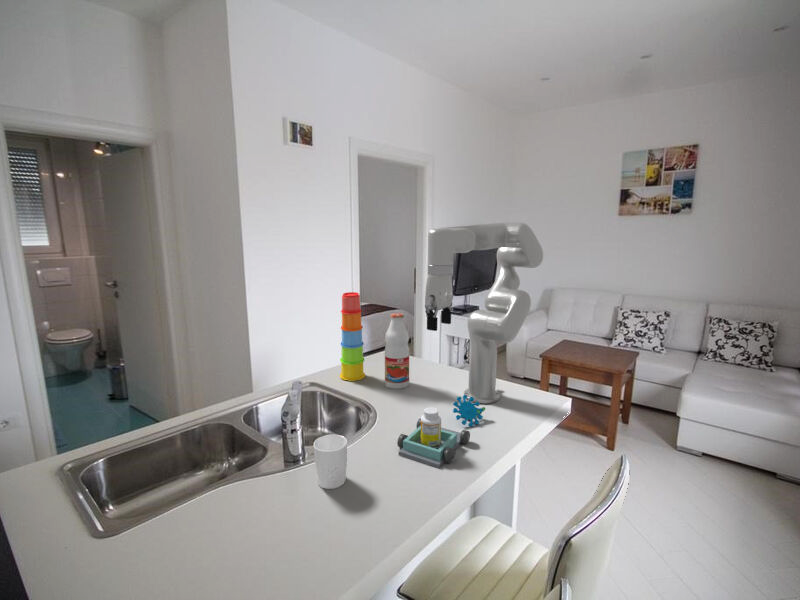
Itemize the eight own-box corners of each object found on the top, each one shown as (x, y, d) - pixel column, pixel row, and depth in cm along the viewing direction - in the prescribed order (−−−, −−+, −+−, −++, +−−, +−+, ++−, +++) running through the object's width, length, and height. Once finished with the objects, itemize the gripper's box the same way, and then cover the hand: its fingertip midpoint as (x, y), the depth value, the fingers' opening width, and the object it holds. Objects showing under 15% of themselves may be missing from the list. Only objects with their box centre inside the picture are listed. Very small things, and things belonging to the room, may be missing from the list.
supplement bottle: (428, 437, 117) (429, 404, 115) (444, 444, 114) (445, 409, 112) (416, 445, 113) (416, 410, 111) (432, 452, 110) (433, 416, 108)
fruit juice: (406, 379, 164) (406, 311, 159) (411, 388, 155) (411, 316, 150) (383, 381, 163) (382, 311, 158) (386, 390, 154) (386, 317, 149)
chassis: (423, 425, 126) (424, 414, 126) (471, 438, 119) (471, 427, 118) (393, 453, 111) (393, 440, 111) (445, 470, 103) (445, 457, 103)
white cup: (320, 494, 94) (319, 454, 92) (311, 476, 101) (309, 439, 99) (353, 484, 98) (352, 446, 96) (341, 467, 104) (340, 431, 103)
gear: (457, 425, 123) (451, 393, 129) (449, 431, 128) (444, 400, 134) (490, 425, 127) (483, 394, 132) (481, 431, 131) (475, 401, 137)
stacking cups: (370, 375, 169) (369, 292, 163) (354, 383, 160) (353, 295, 154) (350, 370, 174) (348, 290, 168) (334, 378, 166) (332, 293, 159)
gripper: (441, 267, 131) (440, 319, 134) (415, 272, 117) (414, 331, 120) (463, 268, 128) (461, 322, 131) (439, 274, 113) (438, 334, 116)
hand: (439, 326), depth 125 cm, fingers open, 9 cm apart
